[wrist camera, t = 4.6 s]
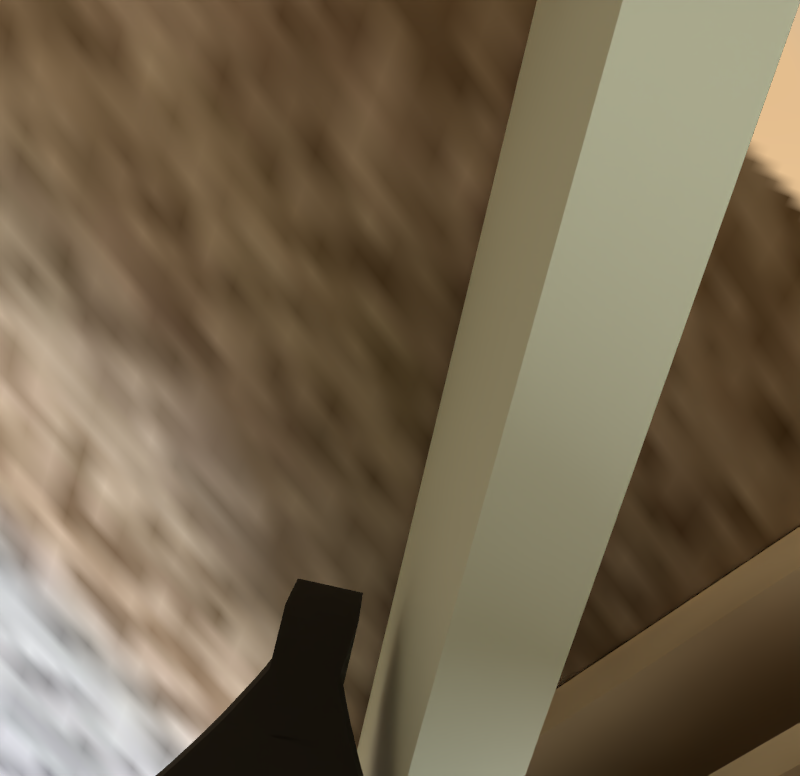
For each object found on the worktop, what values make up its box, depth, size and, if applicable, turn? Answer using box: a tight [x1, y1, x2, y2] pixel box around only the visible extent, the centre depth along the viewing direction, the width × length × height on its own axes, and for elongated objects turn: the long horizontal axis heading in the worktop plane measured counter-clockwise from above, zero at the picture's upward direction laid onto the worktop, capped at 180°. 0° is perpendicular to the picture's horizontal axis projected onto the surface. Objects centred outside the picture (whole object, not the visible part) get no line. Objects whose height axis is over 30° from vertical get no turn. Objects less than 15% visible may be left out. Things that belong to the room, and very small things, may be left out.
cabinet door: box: [357, 0, 800, 776], centre depth 7 cm, size 2×20×6 cm, turn 168°
